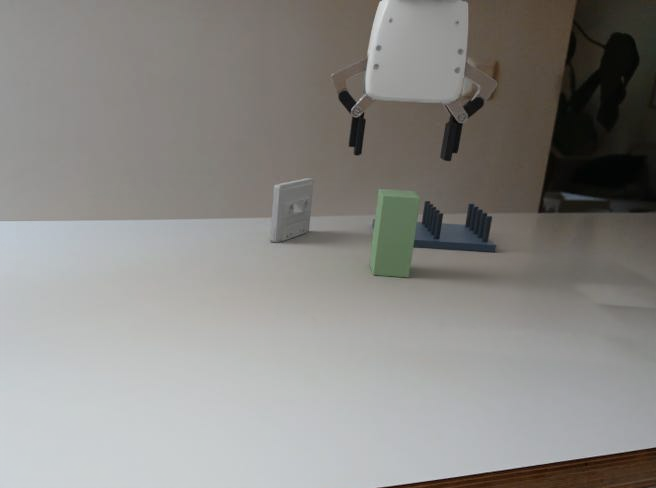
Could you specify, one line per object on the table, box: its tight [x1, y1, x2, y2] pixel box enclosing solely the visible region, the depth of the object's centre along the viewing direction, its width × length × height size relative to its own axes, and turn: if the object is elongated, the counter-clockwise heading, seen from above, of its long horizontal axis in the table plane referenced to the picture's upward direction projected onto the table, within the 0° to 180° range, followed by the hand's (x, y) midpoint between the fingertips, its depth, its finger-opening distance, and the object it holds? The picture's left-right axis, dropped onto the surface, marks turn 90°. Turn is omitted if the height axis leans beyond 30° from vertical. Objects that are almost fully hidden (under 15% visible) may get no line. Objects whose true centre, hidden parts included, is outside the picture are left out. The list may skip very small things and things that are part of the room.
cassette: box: [269, 177, 315, 243], centre depth 104 cm, size 12×2×8 cm, turn 148°
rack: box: [372, 200, 497, 253], centre depth 107 cm, size 15×16×4 cm
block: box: [369, 188, 421, 278], centre depth 86 cm, size 4×6×9 cm, turn 170°
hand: (400, 157), depth 83 cm, fingers open, 9 cm apart
